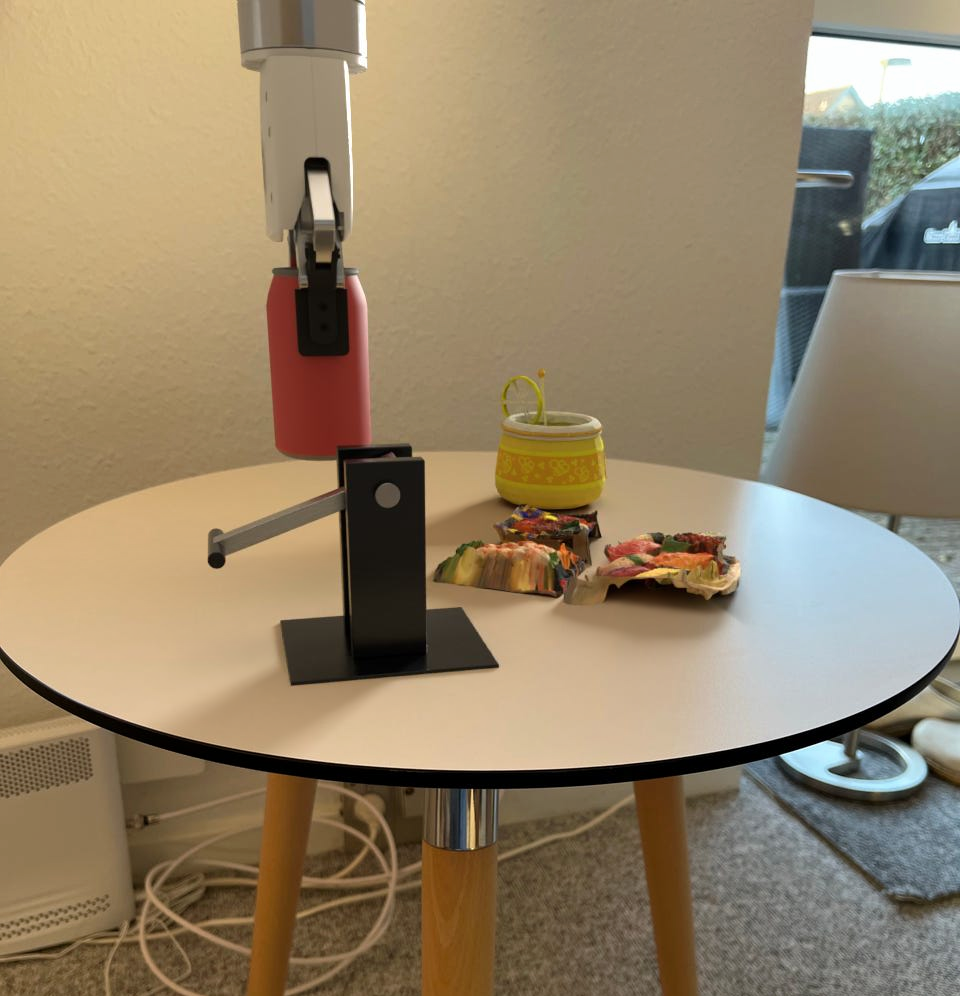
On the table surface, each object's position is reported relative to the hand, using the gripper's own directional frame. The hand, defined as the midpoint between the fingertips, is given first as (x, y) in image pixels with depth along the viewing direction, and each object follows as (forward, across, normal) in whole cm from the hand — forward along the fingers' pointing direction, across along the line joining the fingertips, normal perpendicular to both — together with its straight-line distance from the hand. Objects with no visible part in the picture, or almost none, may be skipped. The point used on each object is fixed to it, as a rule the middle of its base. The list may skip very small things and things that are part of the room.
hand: (318, 346), depth 68 cm
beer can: (+7, 0, 0) cm, 7 cm away
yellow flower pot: (+18, -24, +24) cm, 38 cm away
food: (+18, +1, +20) cm, 27 cm away
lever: (+9, +13, -2) cm, 16 cm away
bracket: (+17, +13, +2) cm, 22 cm away
